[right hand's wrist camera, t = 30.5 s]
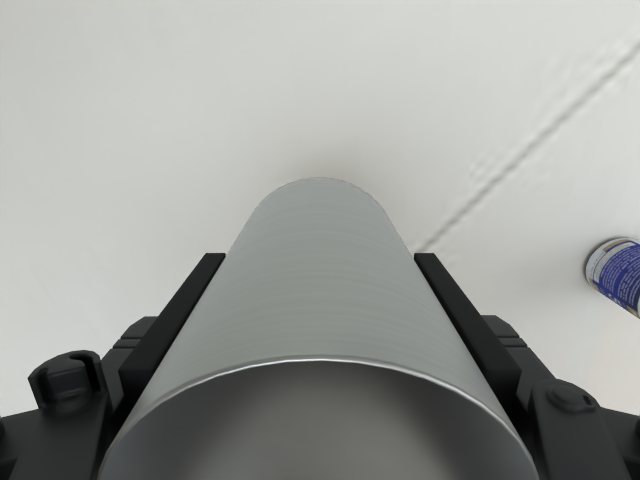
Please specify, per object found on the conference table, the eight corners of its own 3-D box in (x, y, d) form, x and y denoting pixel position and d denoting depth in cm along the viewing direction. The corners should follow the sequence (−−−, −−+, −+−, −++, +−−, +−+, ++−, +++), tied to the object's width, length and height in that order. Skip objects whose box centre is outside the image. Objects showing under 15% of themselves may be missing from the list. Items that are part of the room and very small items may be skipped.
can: (398, 311, 18) (522, 640, 7) (257, 325, 19) (162, 661, 7) (392, 168, 16) (575, 331, 4) (228, 187, 16) (13, 383, 5)
